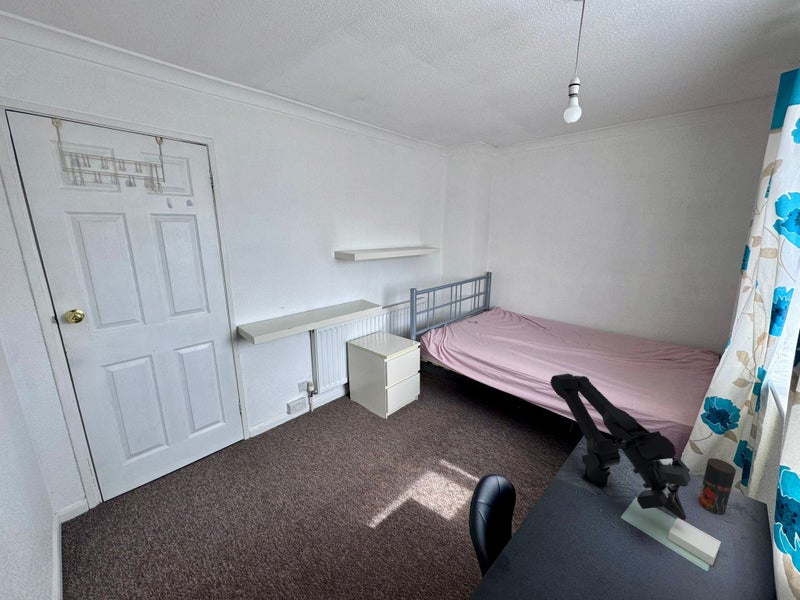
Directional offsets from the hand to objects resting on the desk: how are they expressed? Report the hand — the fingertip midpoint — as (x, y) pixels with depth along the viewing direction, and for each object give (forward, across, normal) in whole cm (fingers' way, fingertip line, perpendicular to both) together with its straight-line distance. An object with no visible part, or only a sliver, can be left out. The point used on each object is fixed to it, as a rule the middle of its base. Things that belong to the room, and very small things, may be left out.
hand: (684, 519), depth 87 cm
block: (+2, 0, +5) cm, 5 cm away
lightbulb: (-3, +21, +13) cm, 25 cm away
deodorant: (+7, +20, +3) cm, 21 cm away
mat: (+3, 0, +7) cm, 7 cm away
